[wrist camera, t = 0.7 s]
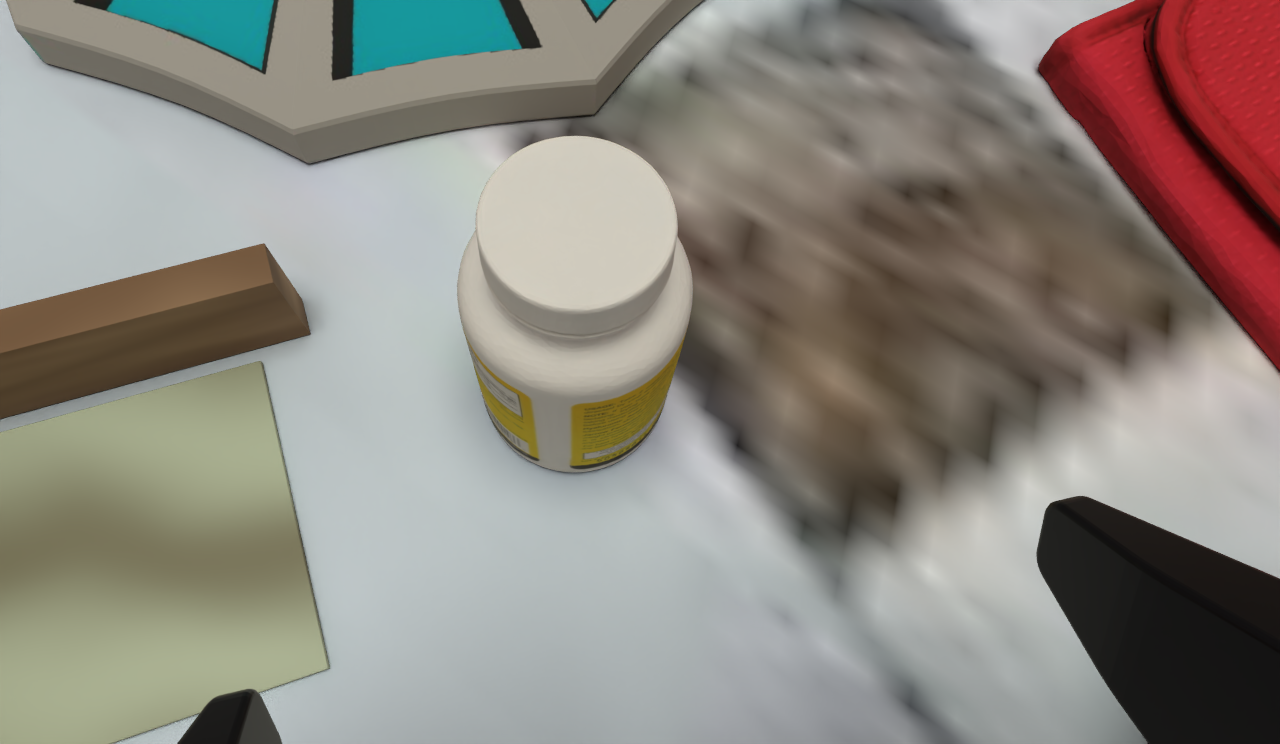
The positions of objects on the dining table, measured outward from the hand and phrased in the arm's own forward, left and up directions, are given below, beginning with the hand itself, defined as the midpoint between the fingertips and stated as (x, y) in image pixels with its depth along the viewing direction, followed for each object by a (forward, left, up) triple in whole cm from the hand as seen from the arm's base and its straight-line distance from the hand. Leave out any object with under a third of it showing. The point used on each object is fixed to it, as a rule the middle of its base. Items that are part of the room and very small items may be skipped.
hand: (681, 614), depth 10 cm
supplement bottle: (+8, -1, -15) cm, 17 cm away
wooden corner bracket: (+6, +13, -15) cm, 20 cm away
